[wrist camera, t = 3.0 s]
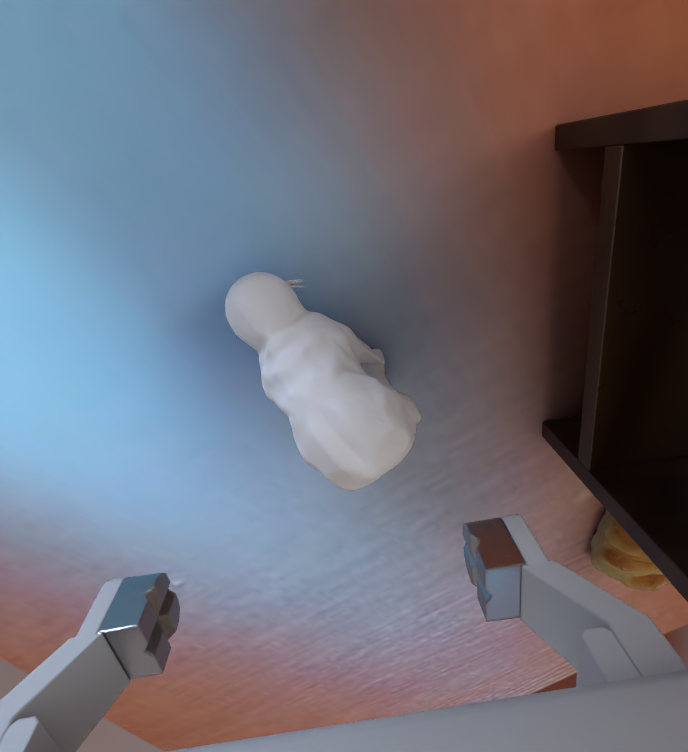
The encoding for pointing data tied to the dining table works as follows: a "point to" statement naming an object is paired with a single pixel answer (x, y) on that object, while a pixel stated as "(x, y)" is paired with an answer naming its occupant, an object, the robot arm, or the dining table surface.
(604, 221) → the shelf stand
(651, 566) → the pastry
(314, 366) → the white figurine
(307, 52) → the dining table surface
